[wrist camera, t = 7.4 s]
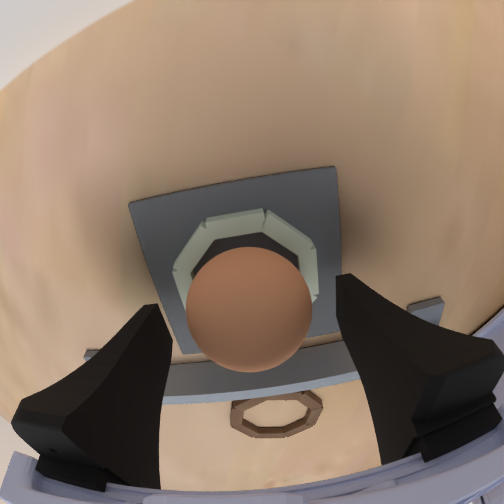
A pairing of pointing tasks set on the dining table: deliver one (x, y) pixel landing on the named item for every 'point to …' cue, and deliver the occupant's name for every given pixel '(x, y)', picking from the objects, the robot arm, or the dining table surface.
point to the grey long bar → (272, 371)
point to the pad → (244, 237)
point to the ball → (249, 309)
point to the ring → (276, 432)
